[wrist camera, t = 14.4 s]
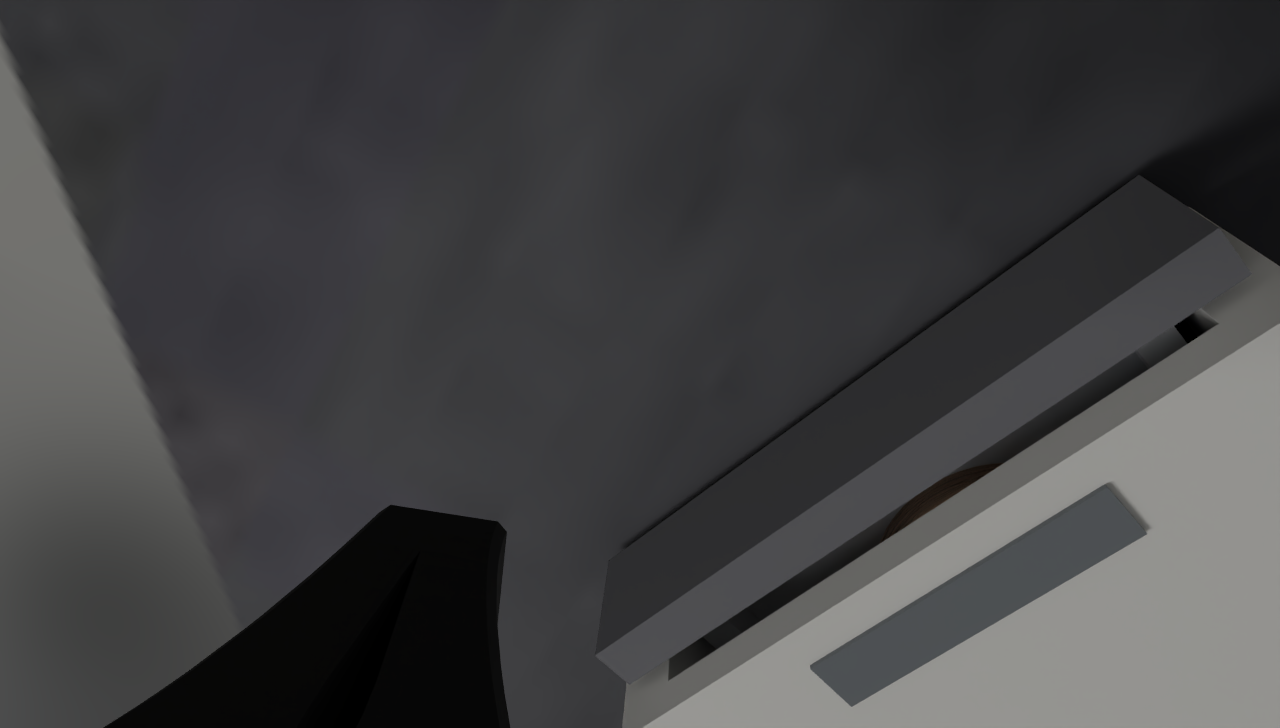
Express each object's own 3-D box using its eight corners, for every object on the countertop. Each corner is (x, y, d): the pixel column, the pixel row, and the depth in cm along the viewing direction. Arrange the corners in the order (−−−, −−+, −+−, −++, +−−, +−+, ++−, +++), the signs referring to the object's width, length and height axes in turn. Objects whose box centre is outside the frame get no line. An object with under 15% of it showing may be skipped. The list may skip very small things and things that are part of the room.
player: (1512, 653, 22) (1690, 824, 18) (983, 902, 26) (1031, 1079, 23) (1189, 206, 18) (1328, 297, 14) (635, 595, 22) (620, 745, 19)
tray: (1462, 616, 21) (1573, 724, 18) (953, 867, 25) (982, 982, 23) (1138, 174, 17) (1219, 227, 14) (608, 560, 22) (595, 655, 19)
